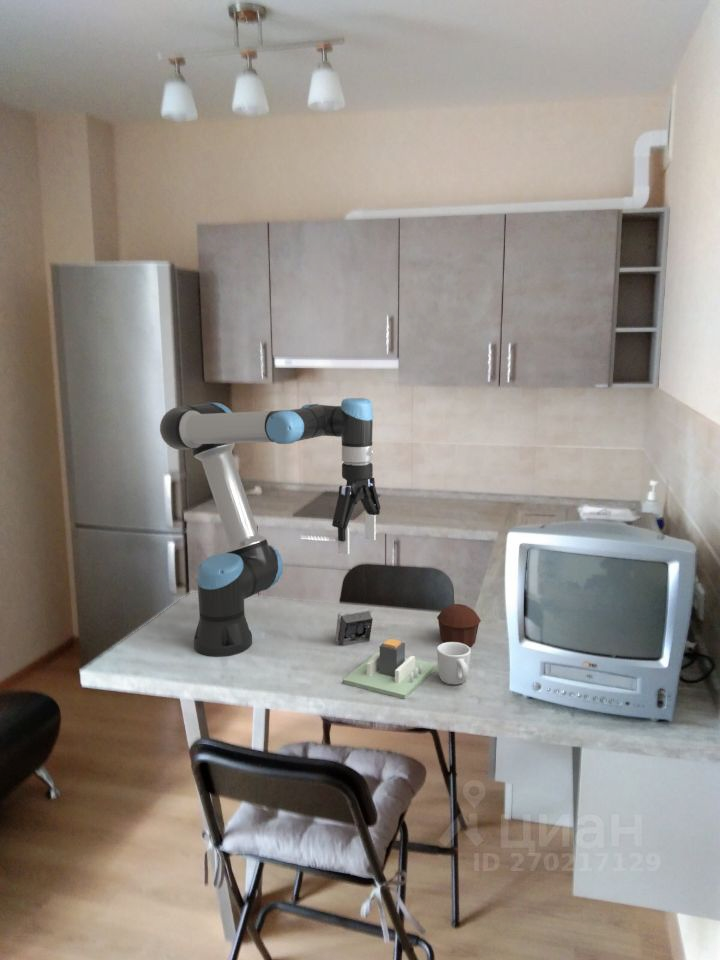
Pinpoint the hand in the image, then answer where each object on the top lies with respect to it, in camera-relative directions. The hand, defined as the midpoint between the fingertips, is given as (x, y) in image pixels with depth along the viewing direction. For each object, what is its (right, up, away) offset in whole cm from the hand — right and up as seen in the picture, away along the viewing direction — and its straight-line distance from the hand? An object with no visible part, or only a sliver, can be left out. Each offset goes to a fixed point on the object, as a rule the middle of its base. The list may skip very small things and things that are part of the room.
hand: (357, 546), depth 187 cm
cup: (+23, -31, -10) cm, 40 cm away
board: (+8, -31, -6) cm, 32 cm away
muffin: (+27, -27, +13) cm, 40 cm away
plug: (+8, -30, -7) cm, 31 cm away
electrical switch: (-1, -27, +13) cm, 30 cm away
